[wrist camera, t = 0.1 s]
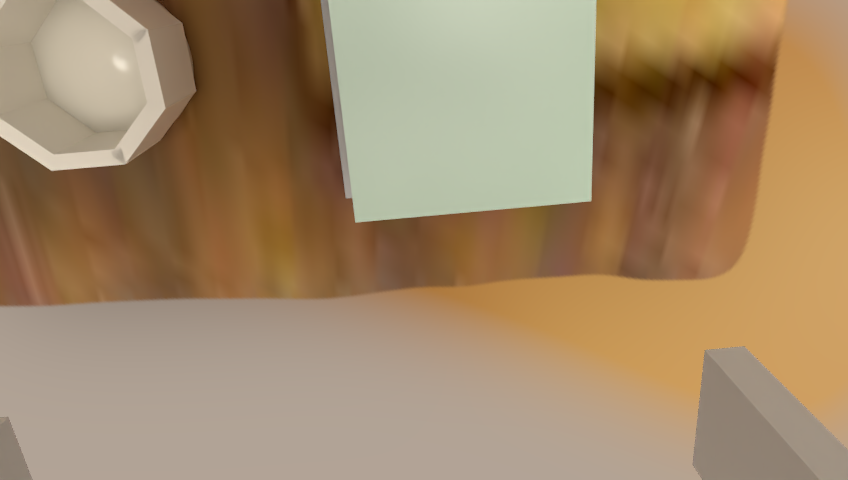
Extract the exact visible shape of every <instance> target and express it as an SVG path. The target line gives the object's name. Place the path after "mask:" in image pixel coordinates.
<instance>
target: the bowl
mask: <svg viewBox="0 0 848 480" xmlns="http://www.w3.org/2000/svg"><path fill="white" fill-rule="evenodd" d="M196 91H197V90H196V87H195V82H194V69H193V60H192V55H191V51H190V47H189V44H188V42H187V40H186V37H185V33H184V29H183V23H182V22H180V21H179V20H178V19H177V18H175V17H174V16H173V15H172V14H170V13H169V11H168V10H167V9H166V8H165V7H164V6H163V5H162V4H160V3H159V2H158V1H157V0H0V136H1V137H2V138H4V139H5V140H7V141H8V142H10V143H11V144H13V145H14V146H16V147H17V148H19V149H20V150H21V151H23V152H24V153H26V154H27V155H29V156H30V157H32V158H33V159H35V160H36V161H38V162H39V163H41V164H42V165H44V166H45V167H47V168H48V169H50V170H51V171H54V170H66V169H77V168H89V167H100V166H112V165H123V164H127V163H128V162H130V161H131V160H133V159H134V158H136V157H137V156H138V155H140V154H141V153H143V152H144V151H146V150H147V149H149V148H150V147H151V146H153V145H154V144H156V143H157V142H159V141H160V140H161V139H162V137H163V136H164V135H165V133H166V132H167V131H168V129H169V128H170V126H171V125H172V124H173V122H174V121H175V120H176V119H177V118H178V117H179V116H180V114H181V113H182V111H183V110H184V108H185V107H186V105H187V103H188V102H189V100H190V99H191V97H192V96H193V95H194V93H195V92H196Z"/></svg>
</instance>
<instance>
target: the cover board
mask: <svg viewBox="0 0 848 480" xmlns="http://www.w3.org/2000/svg"><path fill="white" fill-rule="evenodd" d="M328 4H329V12H330V20H331V28H332V36H333V45H334V53H335V61H336V69H337V77H338V85H339V93H340V102H341V110H342V118H343V126H344V134H345V142H346V150H347V158H348V167H349V175H350V183H351V191H352V199H353V207H354V215H355V222H366V221H377V220H388V219H399V218H410V217H421V216H432V215H444V214H455V213H466V212H477V211H488V210H499V209H510V208H521V207H532V206H543V205H554V204H565V203H576V202H587V201H591V189H592V151H593V113H594V75H595V36H596V0H328Z"/></svg>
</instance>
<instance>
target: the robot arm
mask: <svg viewBox="0 0 848 480" xmlns="http://www.w3.org/2000/svg"><path fill="white" fill-rule="evenodd" d="M695 438H696V439H695V447H694V456H693V466H694V468H695V469H696V471H697V472H698V474H699V475H700V477H701V478H702V480H848V450H847V448H846V447H845V446H844V445H843V444H842V443H841V442H840V441H839V440H837V438H836V437H835V436H834V435H833V434H832V433H831V432H830V431H829V430H828V429H826V427H825V426H824V425H823V424H822V423H821V422H820V421H819V420H817V418H815V416H813V414H811V412H810V411H809V410H807V408H806V407H805V406H803V405H802V403H800V401H799V400H798V399H797V398H796V397H795V396H793V394H791V392H789V391H788V390H787V388H786V387H784V386H783V385H782V383H781V382H779V381H778V379H777V378H775V377H774V376H773V375H772V374H771V373H770V372H769V371H768V370H767V369H766V368H765V367H764V366H763V365H762V364H761V363H760V362H759V361H758V360H757V359H756V358H755V357H754V356H753V355H752V354H751V353H750V352H749V351H748V350H747V349H746V348H745V347H744V346H743V347H732V348H722V349H711V350H705V355H704V364H703V373H702V382H701V391H700V401H699V409H698V419H697V428H696V437H695ZM0 480H32V477H31V475H30V473H29V470H28V467H27V464H26V462H25V459H24V456H23V454H22V451H21V449H20V446H19V443H18V441H17V438H16V436H15V433H14V431H13V428H12V425H11V423H10V420H9V418H8V417H0Z"/></svg>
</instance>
